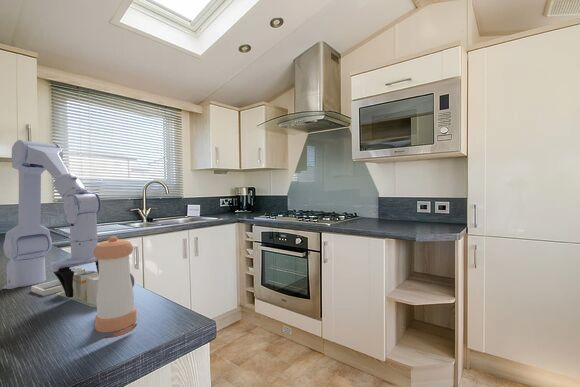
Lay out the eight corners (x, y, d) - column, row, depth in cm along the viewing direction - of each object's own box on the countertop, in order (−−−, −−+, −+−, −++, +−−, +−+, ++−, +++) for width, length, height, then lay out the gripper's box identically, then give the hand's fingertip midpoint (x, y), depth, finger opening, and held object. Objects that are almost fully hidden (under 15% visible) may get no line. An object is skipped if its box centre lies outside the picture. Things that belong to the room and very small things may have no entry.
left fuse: (61, 293, 78) (60, 271, 78) (78, 288, 81) (77, 267, 81) (69, 295, 76) (68, 272, 76) (86, 290, 79) (85, 268, 79)
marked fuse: (73, 297, 75) (72, 274, 75) (91, 292, 78) (90, 270, 78) (81, 300, 73) (80, 276, 73) (99, 294, 76) (98, 272, 76)
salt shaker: (91, 341, 55) (87, 241, 54) (99, 325, 62) (95, 235, 61) (135, 333, 58) (131, 237, 57) (138, 318, 65) (134, 232, 64)
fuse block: (55, 298, 78) (55, 286, 78) (80, 290, 83) (80, 279, 83) (94, 312, 68) (93, 298, 68) (119, 303, 73) (119, 290, 73)
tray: (31, 295, 80) (31, 286, 80) (63, 287, 86) (63, 278, 86) (43, 300, 76) (43, 290, 76) (76, 291, 83) (75, 282, 83)
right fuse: (87, 301, 72) (86, 277, 71) (104, 296, 75) (103, 273, 75) (95, 304, 70) (94, 280, 69) (112, 298, 73) (112, 275, 73)
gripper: (58, 246, 67) (60, 304, 67) (121, 236, 79) (123, 285, 80) (44, 244, 70) (47, 299, 71) (106, 234, 83) (108, 281, 83)
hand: (86, 291), depth 75 cm, fingers open, 7 cm apart
